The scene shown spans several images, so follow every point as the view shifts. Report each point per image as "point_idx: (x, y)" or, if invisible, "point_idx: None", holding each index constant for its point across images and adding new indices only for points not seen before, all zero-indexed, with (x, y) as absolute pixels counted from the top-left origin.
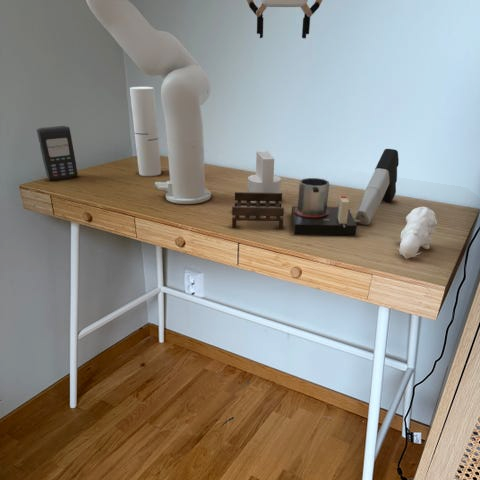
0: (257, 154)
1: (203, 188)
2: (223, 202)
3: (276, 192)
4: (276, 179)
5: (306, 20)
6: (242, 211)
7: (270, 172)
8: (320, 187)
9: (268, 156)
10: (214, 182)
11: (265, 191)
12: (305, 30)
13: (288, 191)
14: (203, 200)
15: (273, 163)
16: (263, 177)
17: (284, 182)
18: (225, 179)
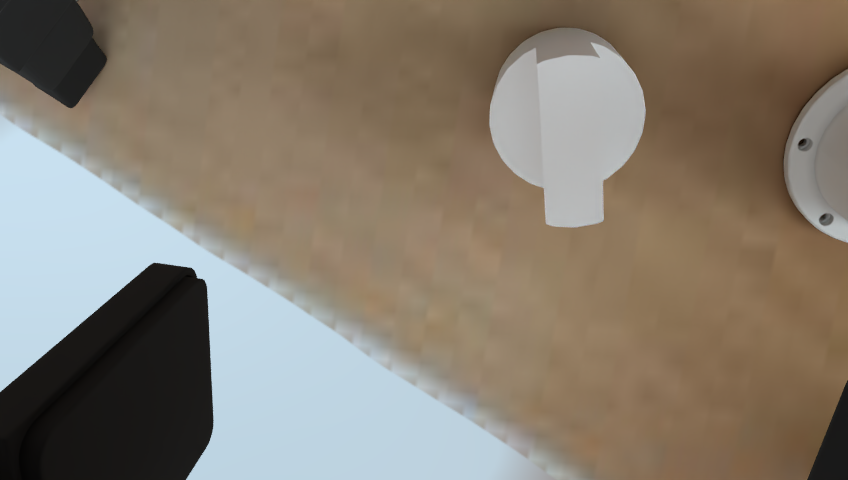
0: (602, 193)
1: (842, 130)
2: (740, 77)
3: (517, 53)
4: (513, 94)
5: (16, 391)
6: None
7: (553, 47)
8: None
9: (559, 115)
10: (728, 343)
11: (570, 35)
12: (121, 304)
13: (441, 205)
14: (836, 78)
15: (540, 59)
16: (586, 43)
17: (440, 318)
18: (674, 377)
